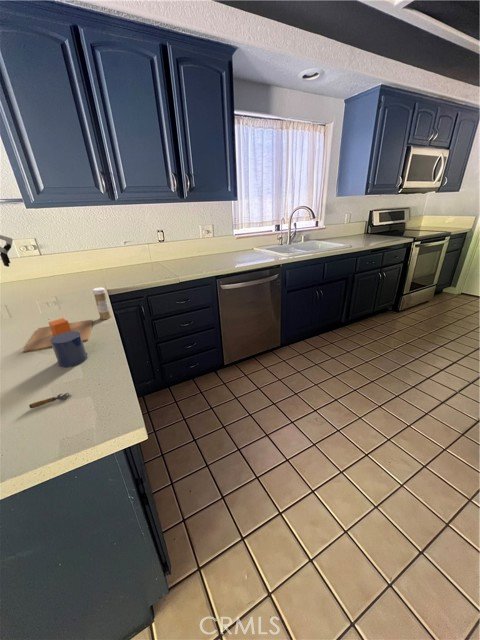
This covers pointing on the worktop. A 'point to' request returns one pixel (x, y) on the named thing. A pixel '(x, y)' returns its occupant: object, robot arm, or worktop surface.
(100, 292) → the sprinkles bottle
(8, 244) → the robot arm
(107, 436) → the worktop surface
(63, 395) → the fork
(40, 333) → the wooden cutting board
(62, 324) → the orange block
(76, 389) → the worktop surface
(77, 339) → the navy cup
